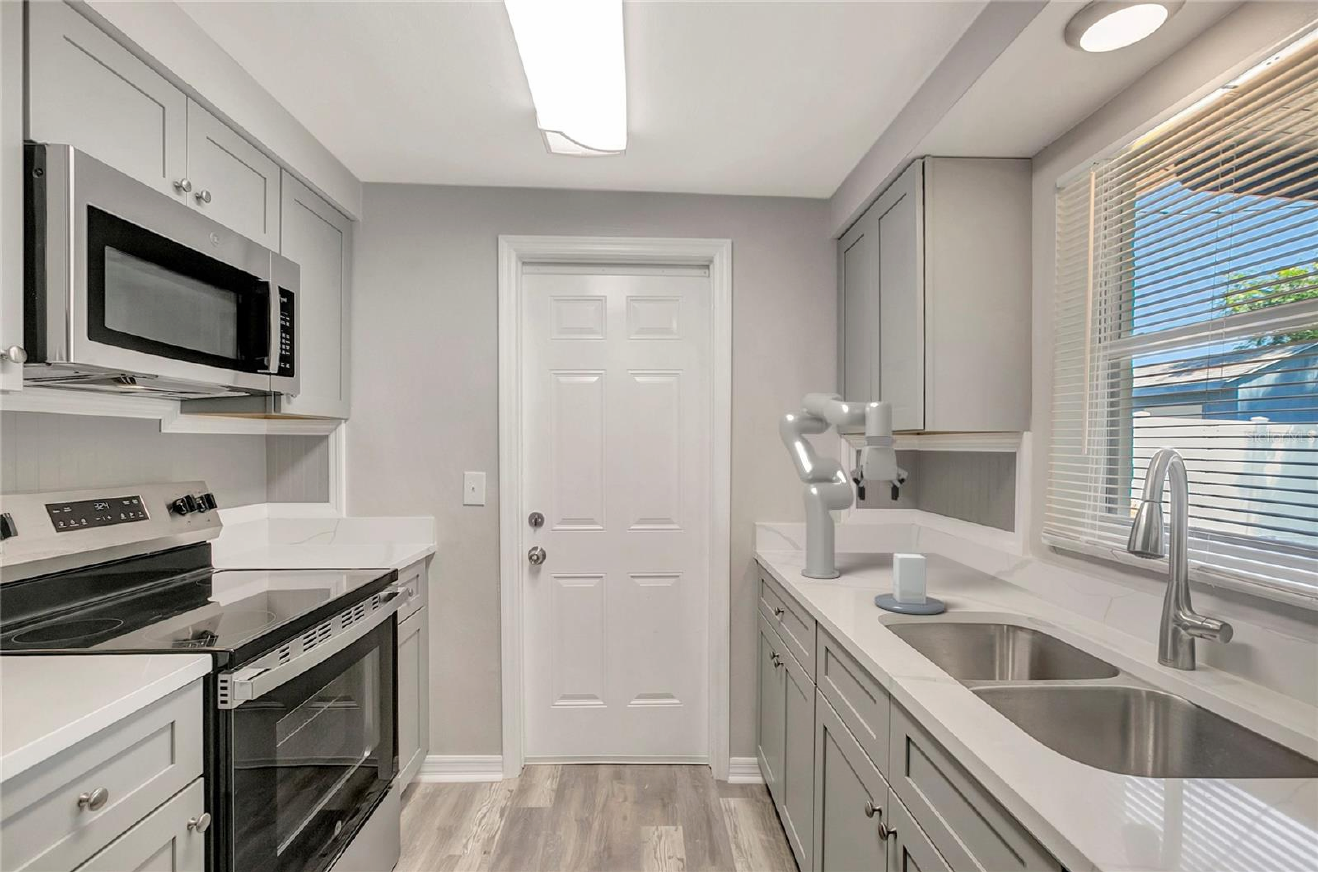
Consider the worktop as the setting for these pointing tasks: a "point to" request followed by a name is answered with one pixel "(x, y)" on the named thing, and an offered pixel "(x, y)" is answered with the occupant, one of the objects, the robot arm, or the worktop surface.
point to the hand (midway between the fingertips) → (878, 500)
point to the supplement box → (909, 578)
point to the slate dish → (909, 605)
